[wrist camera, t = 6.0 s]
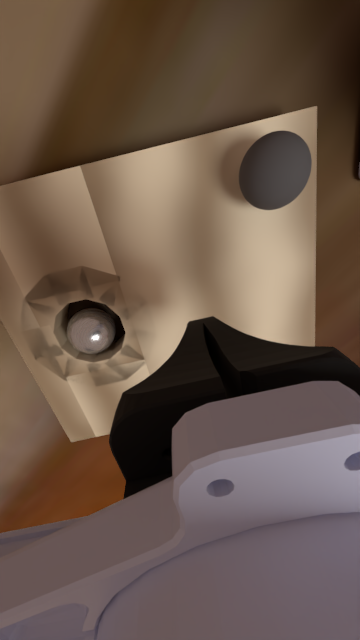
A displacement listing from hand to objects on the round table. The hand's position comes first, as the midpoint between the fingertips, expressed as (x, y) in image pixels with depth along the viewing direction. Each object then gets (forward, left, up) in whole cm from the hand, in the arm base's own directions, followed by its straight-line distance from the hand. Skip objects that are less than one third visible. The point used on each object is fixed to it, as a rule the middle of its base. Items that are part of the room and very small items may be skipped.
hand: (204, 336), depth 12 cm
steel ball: (+7, 0, -5) cm, 9 cm away
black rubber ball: (-5, -6, -3) cm, 8 cm away
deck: (+2, 0, -7) cm, 7 cm away
